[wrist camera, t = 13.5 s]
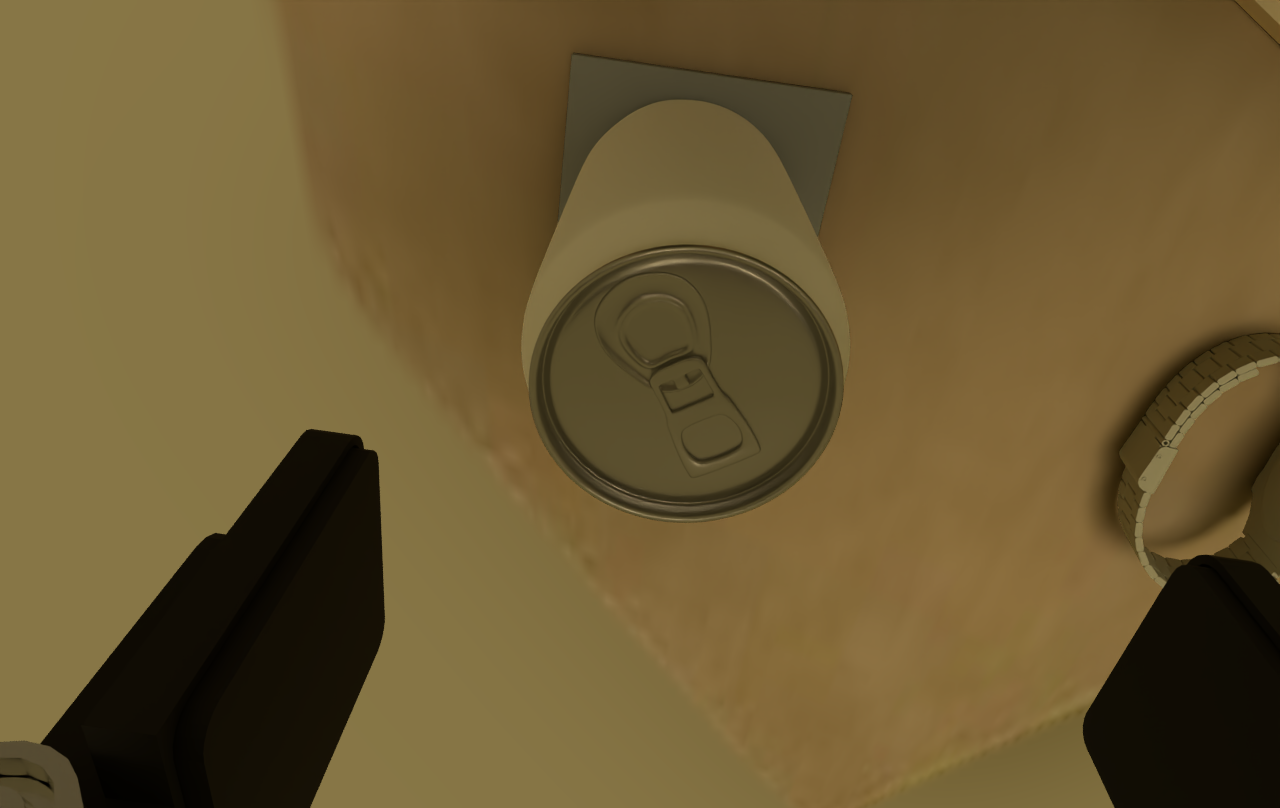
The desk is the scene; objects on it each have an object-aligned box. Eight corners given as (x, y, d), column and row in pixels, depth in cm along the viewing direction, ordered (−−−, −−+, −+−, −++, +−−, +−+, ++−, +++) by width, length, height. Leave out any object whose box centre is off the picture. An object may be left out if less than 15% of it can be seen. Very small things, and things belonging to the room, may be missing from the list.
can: (736, 53, 23) (786, 149, 13) (820, 254, 26) (918, 470, 15) (536, 158, 25) (433, 319, 14) (634, 337, 27) (609, 583, 17)
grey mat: (849, 92, 24) (852, 95, 23) (789, 343, 28) (790, 348, 27) (573, 52, 24) (571, 54, 23) (551, 310, 27) (549, 315, 27)
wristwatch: (1214, 554, 32) (1300, 653, 27) (1057, 525, 31) (1119, 620, 27) (1362, 341, 27) (1494, 418, 23) (1181, 303, 27) (1280, 375, 22)
